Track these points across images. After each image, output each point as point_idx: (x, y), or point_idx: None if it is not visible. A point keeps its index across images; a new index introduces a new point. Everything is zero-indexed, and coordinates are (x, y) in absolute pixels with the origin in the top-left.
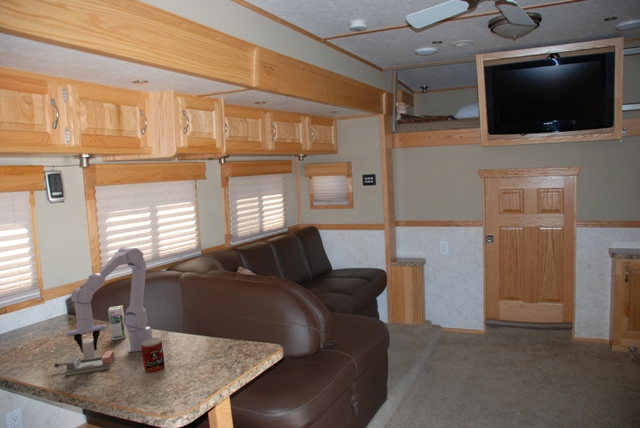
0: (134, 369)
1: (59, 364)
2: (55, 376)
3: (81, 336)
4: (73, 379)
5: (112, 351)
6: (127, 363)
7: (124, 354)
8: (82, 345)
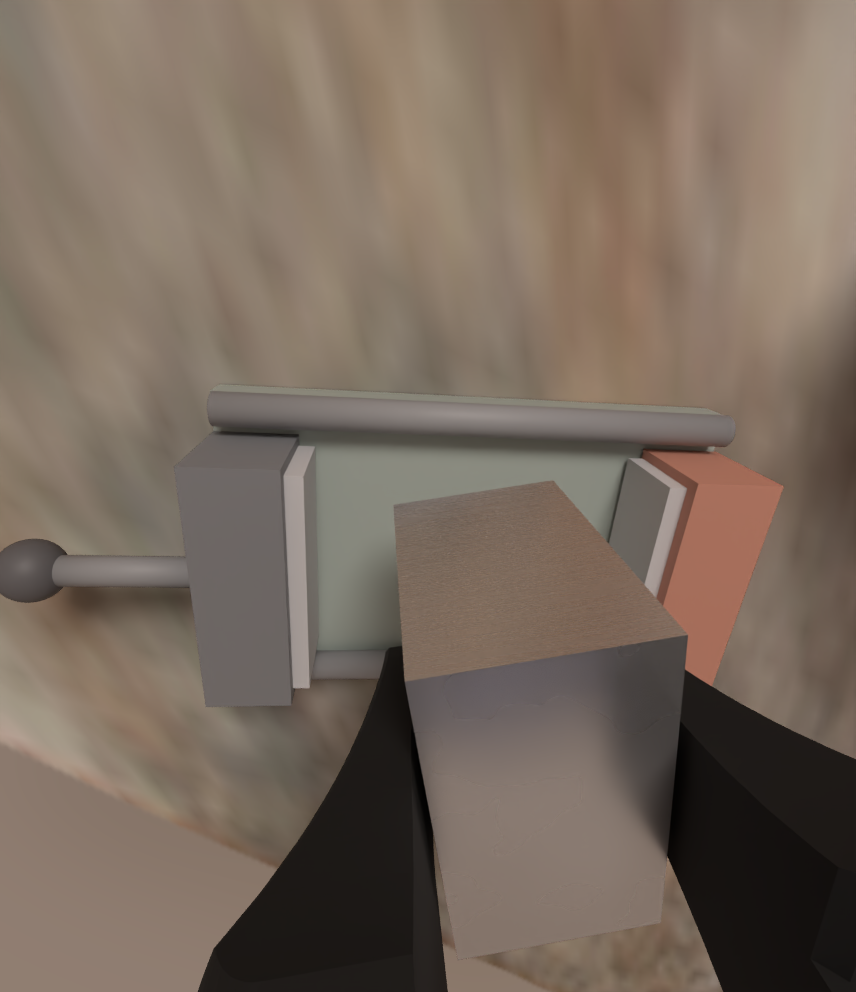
0: (818, 723)
1: (73, 585)
2: (123, 633)
3: (433, 987)
4: (347, 745)
5: (764, 526)
6: (795, 585)
7: (820, 288)
8: (462, 936)
